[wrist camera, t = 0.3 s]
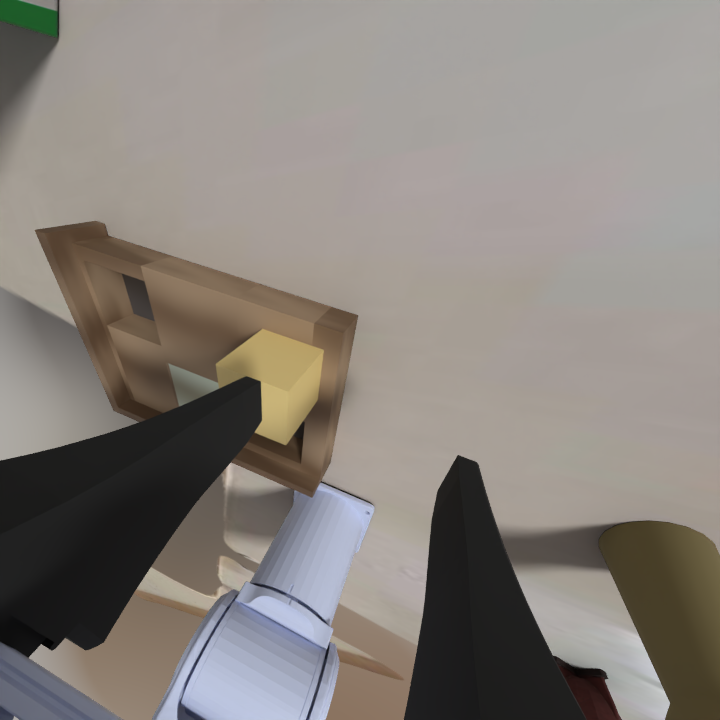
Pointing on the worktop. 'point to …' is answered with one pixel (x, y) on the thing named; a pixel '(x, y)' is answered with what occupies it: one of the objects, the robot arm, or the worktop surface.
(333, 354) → the board
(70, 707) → the robot arm
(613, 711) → the mate gourd
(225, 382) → the ochre block
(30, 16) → the milk carton
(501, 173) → the worktop surface
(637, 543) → the cork
